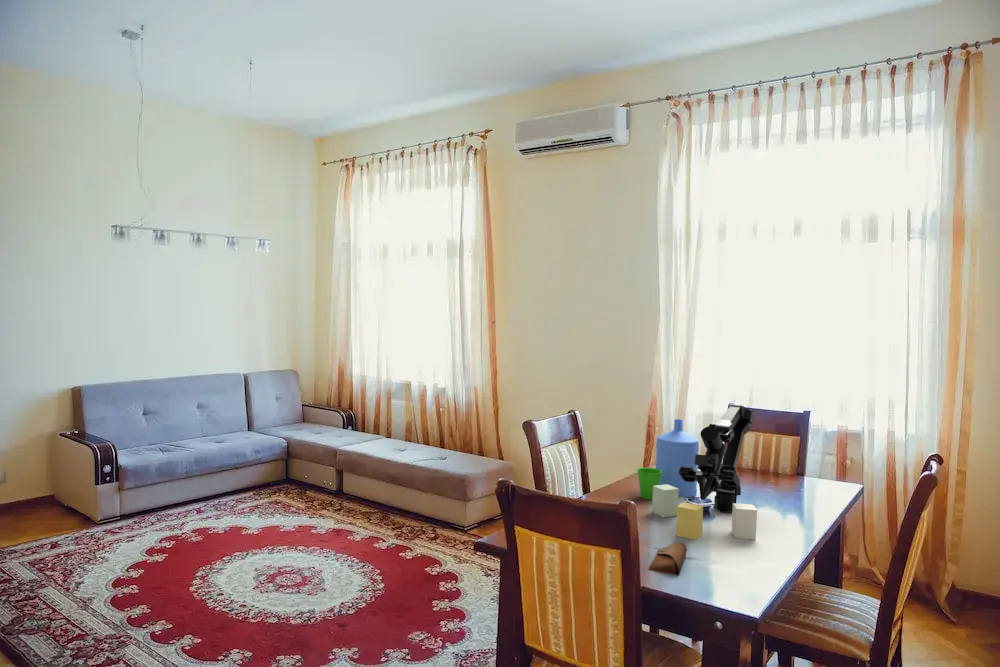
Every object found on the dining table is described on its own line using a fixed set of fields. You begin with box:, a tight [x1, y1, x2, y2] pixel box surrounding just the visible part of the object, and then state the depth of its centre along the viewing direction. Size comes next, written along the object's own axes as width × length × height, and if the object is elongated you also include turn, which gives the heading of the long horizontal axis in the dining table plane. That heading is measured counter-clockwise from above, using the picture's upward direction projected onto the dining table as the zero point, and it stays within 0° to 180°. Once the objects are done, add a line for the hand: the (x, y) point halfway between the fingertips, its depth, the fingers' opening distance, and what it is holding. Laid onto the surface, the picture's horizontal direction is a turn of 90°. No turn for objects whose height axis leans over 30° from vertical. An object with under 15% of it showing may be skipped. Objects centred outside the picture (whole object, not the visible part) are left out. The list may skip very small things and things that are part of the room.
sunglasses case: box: [648, 541, 688, 576], centre depth 190 cm, size 18×7×7 cm
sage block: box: [651, 484, 680, 518], centre depth 230 cm, size 6×6×9 cm
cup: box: [636, 467, 662, 500], centre depth 250 cm, size 9×9×11 cm
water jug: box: [654, 418, 700, 498], centre depth 261 cm, size 16×16×28 cm
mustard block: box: [675, 501, 704, 541], centre depth 209 cm, size 6×6×9 cm
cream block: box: [731, 502, 758, 541], centre depth 210 cm, size 6×6×9 cm
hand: (702, 499), depth 219 cm, fingers closed
